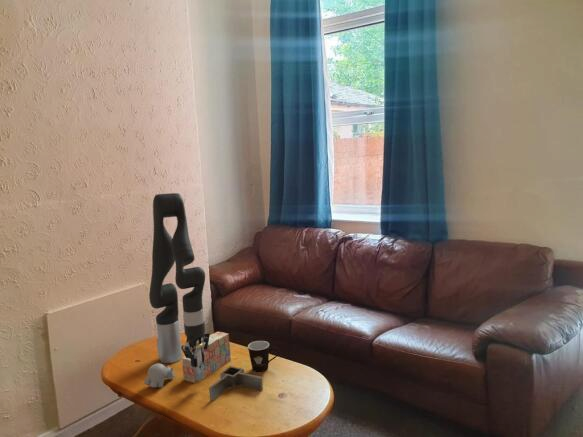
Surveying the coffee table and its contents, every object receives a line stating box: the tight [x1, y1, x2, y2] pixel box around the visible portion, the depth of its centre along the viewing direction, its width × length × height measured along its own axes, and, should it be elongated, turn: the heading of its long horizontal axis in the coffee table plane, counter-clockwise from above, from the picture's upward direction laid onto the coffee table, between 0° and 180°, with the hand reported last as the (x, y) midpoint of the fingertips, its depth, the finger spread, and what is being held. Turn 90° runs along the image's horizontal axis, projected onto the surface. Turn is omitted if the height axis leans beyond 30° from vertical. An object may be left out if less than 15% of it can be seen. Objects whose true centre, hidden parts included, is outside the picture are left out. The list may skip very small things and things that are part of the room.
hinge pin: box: [190, 343, 205, 382], centre depth 169 cm, size 5×5×14 cm
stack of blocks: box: [181, 331, 232, 384], centre depth 184 cm, size 21×6×12 cm, turn 147°
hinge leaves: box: [208, 365, 264, 402], centre depth 166 cm, size 16×16×5 cm
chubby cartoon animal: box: [144, 362, 176, 388], centre depth 176 cm, size 7×12×8 cm, turn 139°
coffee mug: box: [247, 340, 280, 373], centre depth 182 cm, size 12×9×10 cm
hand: (197, 364), depth 169 cm, fingers closed on hinge pin, 3 cm apart
